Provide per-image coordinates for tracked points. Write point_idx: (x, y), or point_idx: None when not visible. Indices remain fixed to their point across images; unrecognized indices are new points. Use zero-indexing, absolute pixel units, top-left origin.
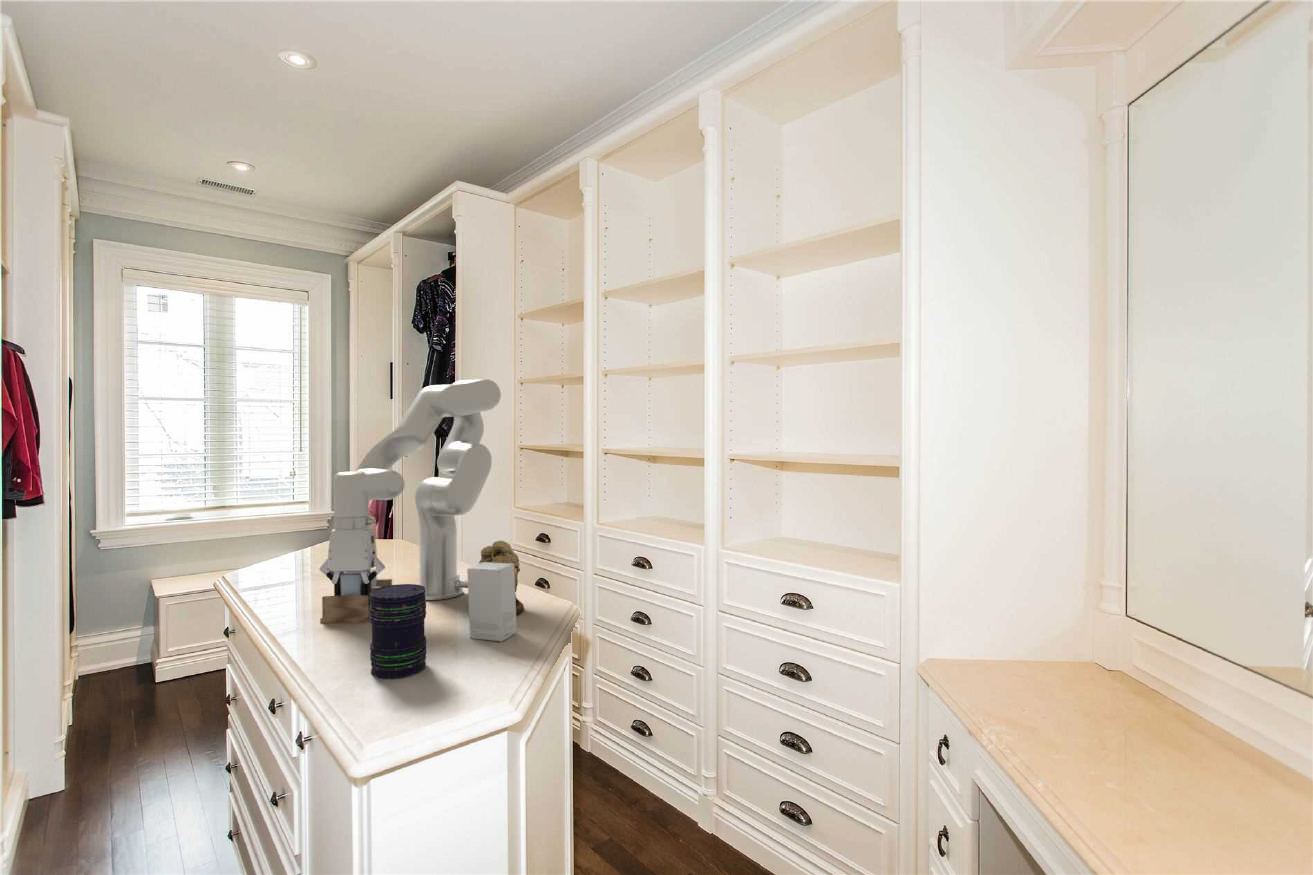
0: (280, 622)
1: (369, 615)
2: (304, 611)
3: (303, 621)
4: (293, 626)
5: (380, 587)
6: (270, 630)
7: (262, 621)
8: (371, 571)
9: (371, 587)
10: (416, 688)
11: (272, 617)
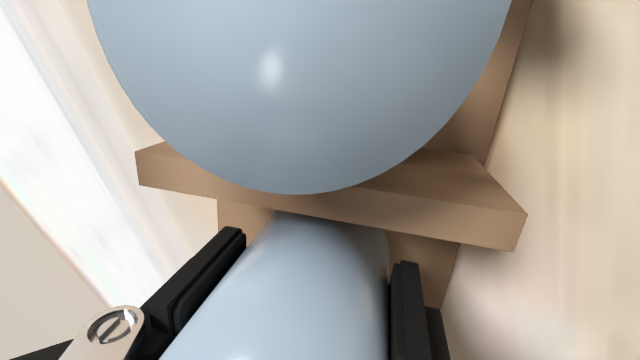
0: (86, 229)
1: (428, 303)
2: (76, 84)
3: (157, 238)
4: (157, 286)
5: (522, 215)
6: (112, 306)
7: (20, 202)
8: (407, 9)
9: (431, 230)
10: None
11: (16, 157)
